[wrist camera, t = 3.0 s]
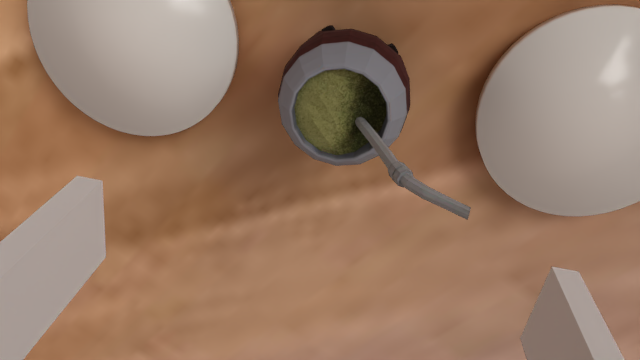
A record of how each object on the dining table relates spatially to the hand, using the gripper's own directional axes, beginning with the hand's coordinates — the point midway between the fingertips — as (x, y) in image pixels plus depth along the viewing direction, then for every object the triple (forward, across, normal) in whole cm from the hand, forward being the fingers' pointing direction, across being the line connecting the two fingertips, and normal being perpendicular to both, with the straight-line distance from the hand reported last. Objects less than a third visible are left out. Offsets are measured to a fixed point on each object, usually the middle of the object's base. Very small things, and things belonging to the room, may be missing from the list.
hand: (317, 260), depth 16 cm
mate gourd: (+20, 0, 0) cm, 20 cm away
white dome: (+20, +14, 0) cm, 24 cm away
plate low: (+20, -14, 0) cm, 24 cm away
